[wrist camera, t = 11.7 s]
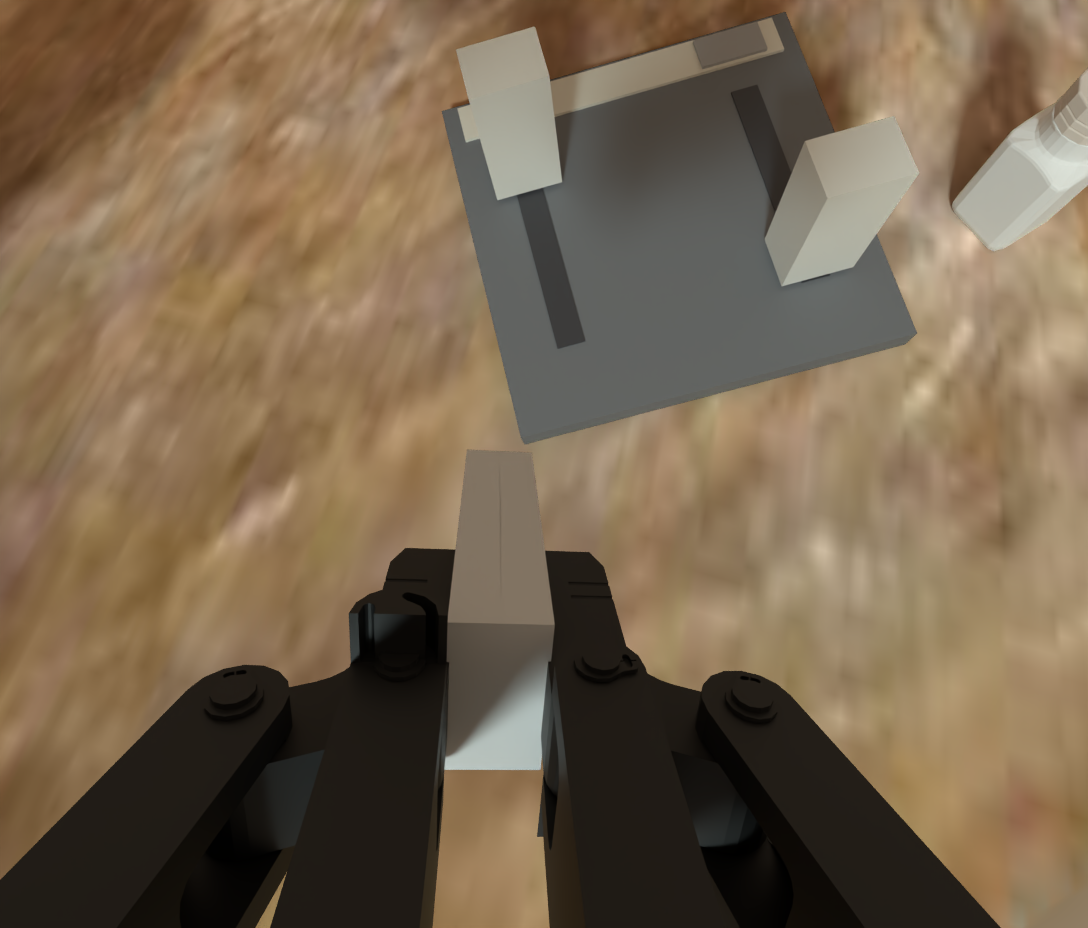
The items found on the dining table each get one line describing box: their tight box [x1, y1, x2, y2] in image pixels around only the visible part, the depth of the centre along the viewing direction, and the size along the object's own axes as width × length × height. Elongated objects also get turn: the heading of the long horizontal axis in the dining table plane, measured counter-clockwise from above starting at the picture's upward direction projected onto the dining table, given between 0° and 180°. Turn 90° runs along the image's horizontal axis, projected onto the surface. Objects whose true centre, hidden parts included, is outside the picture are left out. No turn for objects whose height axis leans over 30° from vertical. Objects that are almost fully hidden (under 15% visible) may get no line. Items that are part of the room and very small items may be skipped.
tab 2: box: [765, 116, 919, 286], centre depth 33 cm, size 3×4×8 cm
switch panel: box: [442, 12, 917, 444], centre depth 39 cm, size 22×22×2 cm
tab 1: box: [456, 26, 562, 200], centre depth 36 cm, size 3×4×8 cm
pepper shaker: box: [952, 68, 1088, 251], centre depth 33 cm, size 4×4×10 cm
